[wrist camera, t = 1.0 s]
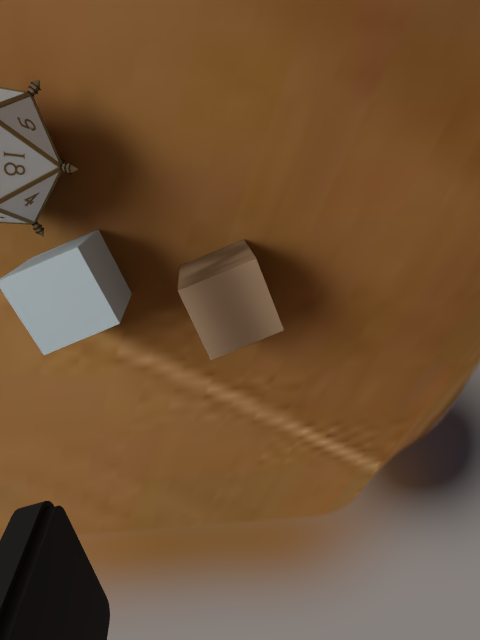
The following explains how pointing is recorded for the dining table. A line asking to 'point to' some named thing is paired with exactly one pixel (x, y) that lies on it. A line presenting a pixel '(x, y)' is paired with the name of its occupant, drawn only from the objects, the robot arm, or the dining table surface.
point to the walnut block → (228, 299)
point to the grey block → (68, 292)
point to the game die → (26, 158)
